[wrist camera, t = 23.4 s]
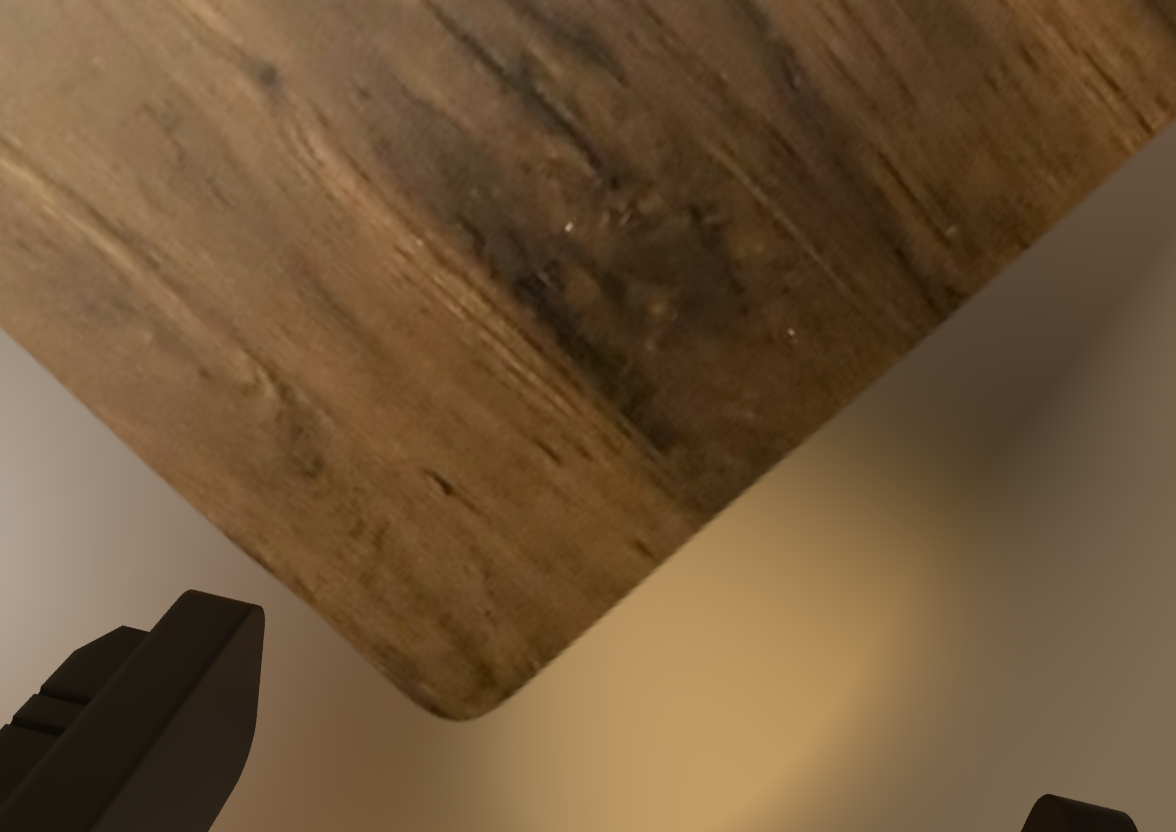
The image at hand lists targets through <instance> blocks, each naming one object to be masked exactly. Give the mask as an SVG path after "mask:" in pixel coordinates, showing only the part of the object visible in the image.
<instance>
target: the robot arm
mask: <svg viewBox="0 0 1176 832" xmlns="http://www.w3.org/2000/svg"><path fill="white" fill-rule="evenodd" d="M264 628H265V615H264V611H263V608H262V607H261V606H259V605H255V604H251V603H246V602H242V601H238V600H234V599H230V598H226V597H221V596H217V595H213V594H209V593H204V592H201V591H197V590H191V589H190V590H188V591H186V592H185V593H183V594H182V595H181V596H180V597H179V598H178V600H177V601H176V602H175V603H174V604H173V605H172V606H171V608H170V609H169V610H168V611H167V612H166V614H165V615H164V616H163V617H162V618H161V619H160V621H159V622H158V623H157V624H156V625H155V627H154V628H153V629H152V630H151V631H150V632H147V631H143V630H139V629H135V628H131V627H126V626H121V627H119V628H117V629H115V630H113V631H111V632H110V633H108V634H106V635H104V636H102V637H100V638H98V639H96V640H94V641H92V642H91V643H89V644H87V645H85V646H83V647H81V648H79V649H77V650H75V651H74V652H73V653H72V654H71V655H70V656H69V657H68V658H67V659H66V661H65V662H64V663H63V664H62V665H61V666H60V667H59V668H58V669H57V670H56V671H55V672H54V673H53V674H52V675H51V676H50V677H49V678H48V680H47V681H46V682H45V683H44V684H43V685H42V686H41V690H40V692H39V694H34V695H32V697H31V698H30V699H29V700H28V701H27V702H26V703H25V704H24V705H23V706H22V707H21V708H20V709H19V710H18V711H17V713H16V714H15V715H14V716H13V720H12V722H11V724H10V725H9V724H6V725H4V726H3V727H2V729H1V730H0V832H208V831H209V829H210V827H211V826H212V824H213V822H214V821H215V819H216V817H217V816H218V814H219V812H220V811H221V809H222V807H223V805H224V804H225V802H226V801H227V799H228V797H229V796H230V794H231V792H232V791H233V789H234V787H235V785H236V784H237V781H238V780H239V777H240V775H241V773H242V771H243V768H244V766H245V763H246V760H247V758H248V754H249V752H250V748H251V745H252V741H253V737H254V732H255V726H256V717H257V707H258V695H259V684H260V673H261V661H262V650H263V639H264ZM1021 832H1138V830H1137V828H1136V826H1135V824H1134V822H1133V820H1132V819H1131V818H1130V817H1129V816H1128V815H1127V814H1126V813H1124V812H1121V811H1118V810H1114V809H1109V808H1105V807H1101V806H1097V805H1093V804H1088V803H1085V802H1080V801H1076V800H1072V799H1068V798H1064V797H1059V796H1055V795H1051V794H1046V795H1044V796H1042V797H1041V798H1039V799H1038V800H1037V802H1036V803H1035V804H1034V806H1033V808H1032V810H1031V812H1030V814H1029V816H1028V818H1027V820H1026V822H1025V824H1024V827H1023V828H1022V831H1021Z"/></svg>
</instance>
